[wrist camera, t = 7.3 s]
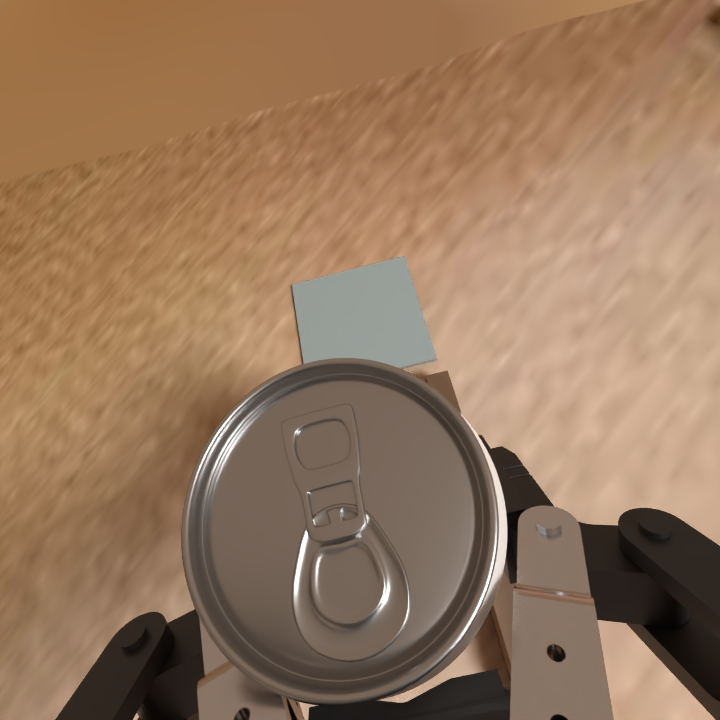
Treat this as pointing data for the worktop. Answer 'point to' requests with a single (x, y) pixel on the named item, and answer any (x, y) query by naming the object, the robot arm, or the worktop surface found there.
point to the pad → (363, 316)
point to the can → (343, 533)
